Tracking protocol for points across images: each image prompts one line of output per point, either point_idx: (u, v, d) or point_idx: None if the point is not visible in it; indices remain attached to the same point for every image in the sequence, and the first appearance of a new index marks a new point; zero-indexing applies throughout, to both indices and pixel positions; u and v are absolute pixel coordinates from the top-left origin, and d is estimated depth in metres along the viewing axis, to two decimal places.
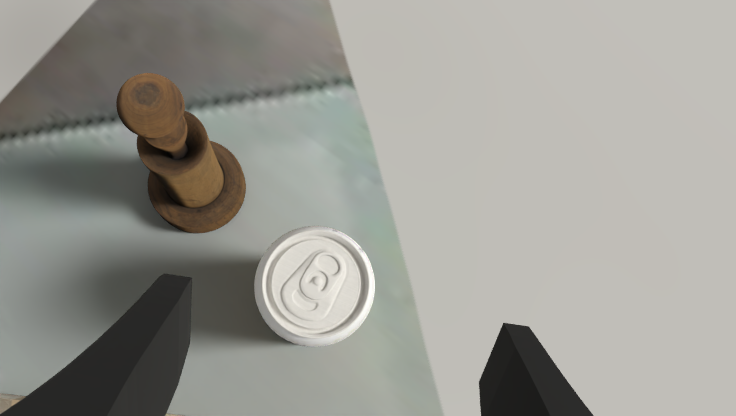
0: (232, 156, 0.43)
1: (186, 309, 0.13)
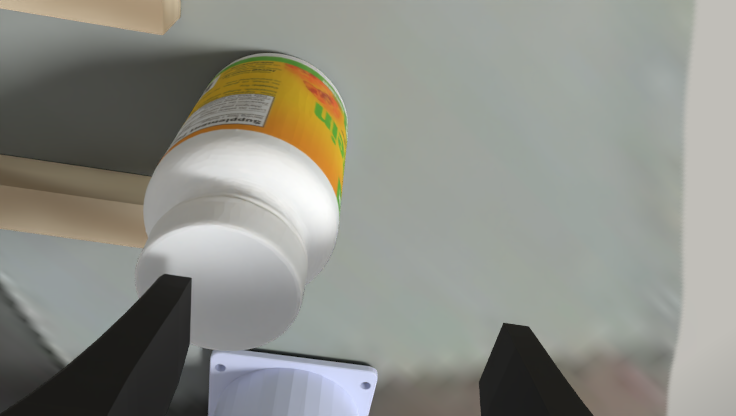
0: None
1: (186, 309, 0.13)
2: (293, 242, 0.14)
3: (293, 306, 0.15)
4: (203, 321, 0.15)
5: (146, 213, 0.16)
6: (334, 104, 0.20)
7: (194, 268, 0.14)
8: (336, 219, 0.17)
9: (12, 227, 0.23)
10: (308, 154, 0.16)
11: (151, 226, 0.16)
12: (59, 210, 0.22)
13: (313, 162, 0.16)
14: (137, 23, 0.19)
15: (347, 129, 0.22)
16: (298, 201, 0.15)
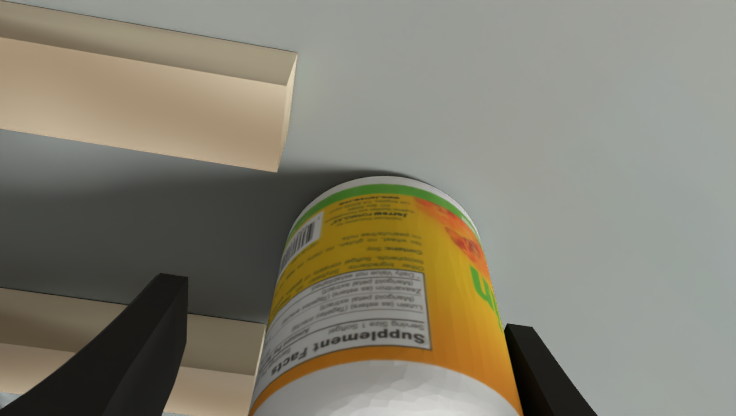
0: None
1: (182, 309, 0.13)
2: None
3: None
4: None
5: None
6: (481, 254, 0.15)
7: None
8: None
9: None
10: (498, 388, 0.10)
11: None
12: None
13: (506, 403, 0.10)
14: (241, 157, 0.13)
15: None
16: None
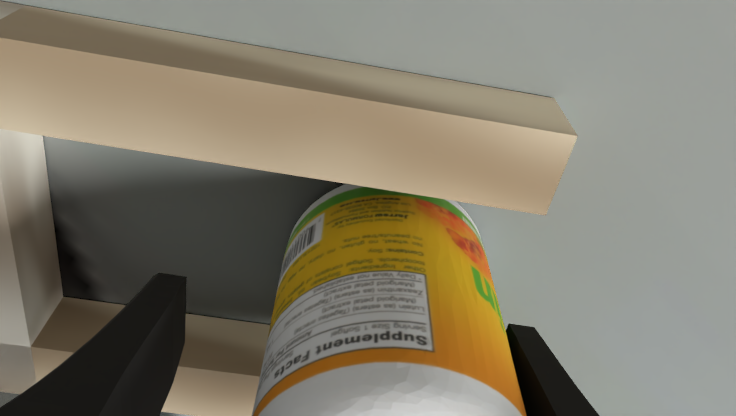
0: None
1: (181, 308, 0.13)
2: None
3: None
4: None
5: None
6: (482, 254, 0.15)
7: None
8: None
9: None
10: (501, 389, 0.10)
11: None
12: None
13: (509, 403, 0.10)
14: (515, 201, 0.13)
15: None
16: None
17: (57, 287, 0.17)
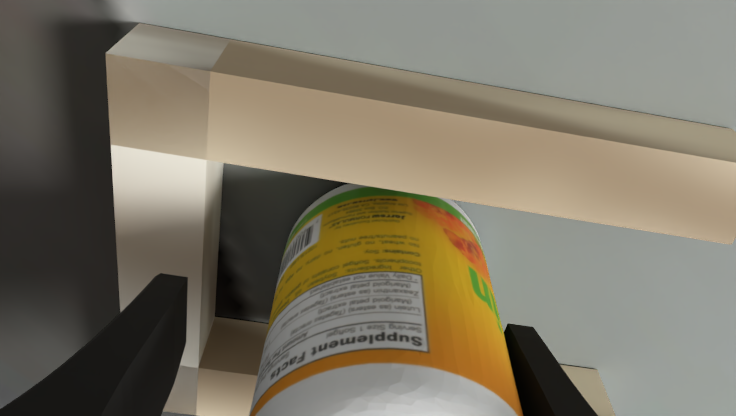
0: None
1: (182, 309, 0.13)
2: None
3: None
4: None
5: None
6: (480, 254, 0.15)
7: None
8: None
9: None
10: (497, 389, 0.10)
11: None
12: None
13: (505, 404, 0.10)
14: (704, 231, 0.14)
15: None
16: None
17: (213, 308, 0.18)
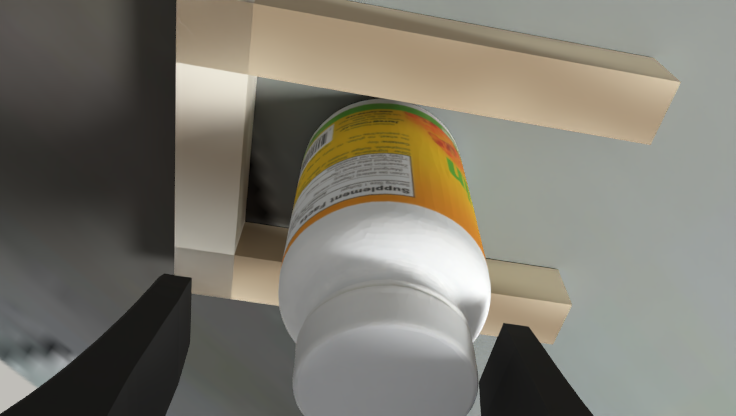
0: None
1: (186, 309, 0.13)
2: (467, 334, 0.13)
3: (466, 404, 0.13)
4: None
5: (286, 293, 0.15)
6: (457, 155, 0.19)
7: (363, 368, 0.12)
8: (490, 295, 0.15)
9: None
10: (463, 225, 0.15)
11: (291, 307, 0.15)
12: None
13: (468, 235, 0.15)
14: (628, 133, 0.18)
15: None
16: (459, 282, 0.14)
17: (244, 212, 0.22)
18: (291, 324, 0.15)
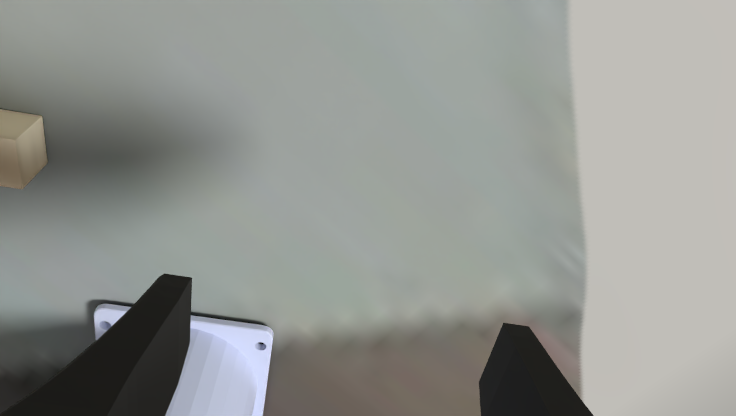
0: None
1: (186, 309, 0.13)
2: None
3: None
4: None
5: None
6: None
7: None
8: None
9: None
10: None
11: None
12: None
13: None
14: None
15: None
16: None
17: None
18: None
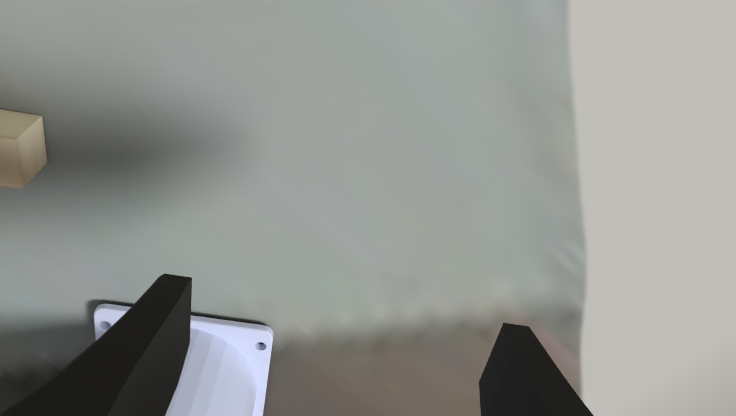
0: None
1: (186, 309, 0.13)
2: None
3: None
4: None
5: None
6: None
7: None
8: None
9: None
10: None
11: None
12: None
13: None
14: None
15: None
16: None
17: None
18: None
